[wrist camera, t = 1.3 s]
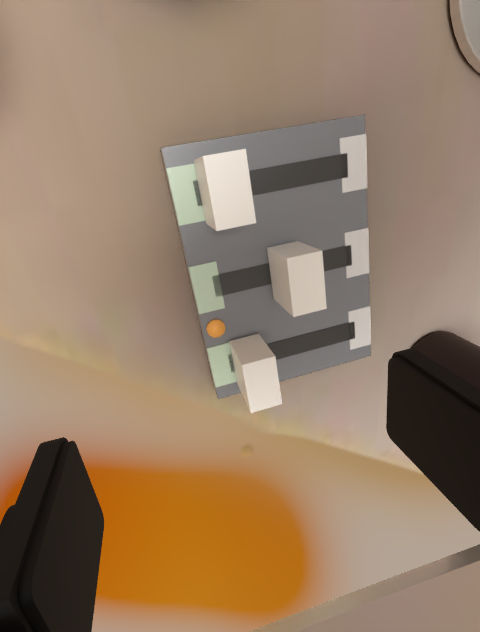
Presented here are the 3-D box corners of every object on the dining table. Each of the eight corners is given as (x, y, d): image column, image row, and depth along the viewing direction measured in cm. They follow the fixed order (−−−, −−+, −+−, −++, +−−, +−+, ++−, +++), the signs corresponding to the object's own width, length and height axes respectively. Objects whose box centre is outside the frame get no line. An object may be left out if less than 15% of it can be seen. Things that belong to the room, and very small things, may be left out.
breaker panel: (349, 119, 26) (367, 113, 24) (358, 346, 34) (372, 357, 31) (160, 150, 24) (161, 147, 22) (213, 386, 31) (218, 401, 29)
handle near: (230, 153, 23) (245, 148, 19) (240, 216, 25) (256, 222, 21) (193, 160, 23) (202, 155, 19) (206, 223, 24) (216, 231, 21)
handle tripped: (297, 240, 26) (322, 250, 23) (303, 292, 28) (326, 308, 24) (266, 247, 26) (286, 258, 22) (273, 299, 27) (293, 317, 24)
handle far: (258, 333, 28) (275, 356, 24) (265, 376, 30) (282, 403, 26) (229, 341, 28) (241, 365, 24) (237, 384, 29) (250, 413, 26)
